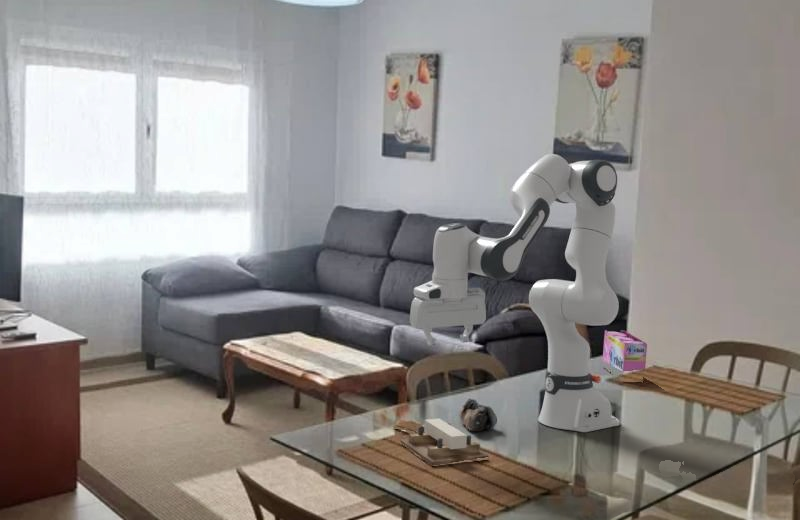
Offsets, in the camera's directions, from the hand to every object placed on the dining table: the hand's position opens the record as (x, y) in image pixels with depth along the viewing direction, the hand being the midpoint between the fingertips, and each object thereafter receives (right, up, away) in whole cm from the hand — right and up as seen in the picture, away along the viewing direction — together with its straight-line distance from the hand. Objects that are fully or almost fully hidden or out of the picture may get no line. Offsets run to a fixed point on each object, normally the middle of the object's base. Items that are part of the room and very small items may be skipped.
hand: (447, 343), depth 219 cm
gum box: (+65, -19, +82) cm, 106 cm away
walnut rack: (-2, -25, -9) cm, 27 cm away
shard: (-8, -24, +8) cm, 27 cm away
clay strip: (-1, -22, -9) cm, 24 cm away
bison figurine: (+7, -24, +12) cm, 28 cm away
